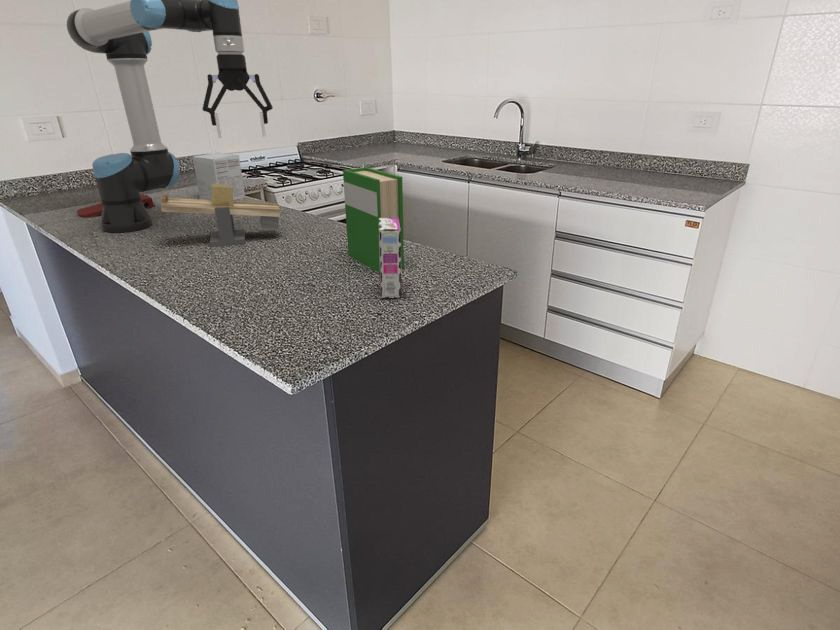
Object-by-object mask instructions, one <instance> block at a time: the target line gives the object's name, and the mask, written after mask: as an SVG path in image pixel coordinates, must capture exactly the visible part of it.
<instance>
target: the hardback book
mask: <svg viewBox="0 0 840 630" xmlns="http://www.w3.org/2000/svg"><path fill="white" fill-rule="evenodd" d="M342 177H343V194H344V207H345V221H346V223H345V224H346V239H347V256H348V257H349V256H350V257H351V258H350V257H349V258H350V259H352V258H353V259H352V260H354V259H355V260H354V261H356V260H357V261H359V262H360V263H359V262H358V263H359V264H361V263H362V264H361V265H363V264H364V265H366V266H368V267H370V268H371V269H370V268H369V269H370V270H372V269H373V270H375V271H377V272H379V273H380V257H379V218H399V224H400V229H401V268H404V269H405V259H404V258H405V256H404V253H405V250H404V203H403V201H404V197H403V195H404V194H403V176H402V175H398V174H393V173H389V172H386V171H383V170H382V171H381V170H380V169H379V170H378V169H374V168H372V167H359V168H351V169H349V168H348V169H342ZM357 261H356V262H357ZM364 265H363V266H364ZM366 266H365V267H366ZM368 267H367V268H368ZM373 270H372V271H373ZM375 271H374V272H375ZM377 272H376V273H377ZM379 273H378V274H379Z"/></svg>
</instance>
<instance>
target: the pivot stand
mask: <svg viewBox="0 0 840 630" xmlns="http://www.w3.org/2000/svg"><path fill="white" fill-rule="evenodd" d="M214 215H215V218H216V224H217V230H215V231H211V232H210V233H211V234H210V240H209V246H210V248H213V247H214V248H215V247H226V246H227V245H228V246H238V245H239V246H240V245H246V231H245V228H237V229H235V223H234V217H233V216H234V215H230V209H229V207H216V208H215V214H214Z"/></svg>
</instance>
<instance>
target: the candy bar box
mask: <svg viewBox="0 0 840 630" xmlns="http://www.w3.org/2000/svg"><path fill="white" fill-rule="evenodd" d="M379 257H380V274H379V281H380V282H379V285H380V298H381V299H382V298H389V297H401V298H402V269H401V229H400V224H399V218H379Z"/></svg>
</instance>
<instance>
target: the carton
mask: <svg viewBox="0 0 840 630" xmlns="http://www.w3.org/2000/svg"><path fill="white" fill-rule="evenodd" d="M140 197H141V202H142V204H143V205H144V206H146V207H147V206H148V207H147V208H149V209H152V207H154V208H156V206H155V204H154V201H153V199H152V197H150V196H149V195H147V194H144V193H143V194H140ZM102 208H103V206H102V202H100V203H97V204H96V203H95V204H93V205H90V206H85V207H83V208H79V209H77V211H76V214H77V215H78V216H79V217H80V218H81V219H82V218H84V219H86V218H87V219H88V218H94V217H97V216H100V215H101V216H102Z"/></svg>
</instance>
